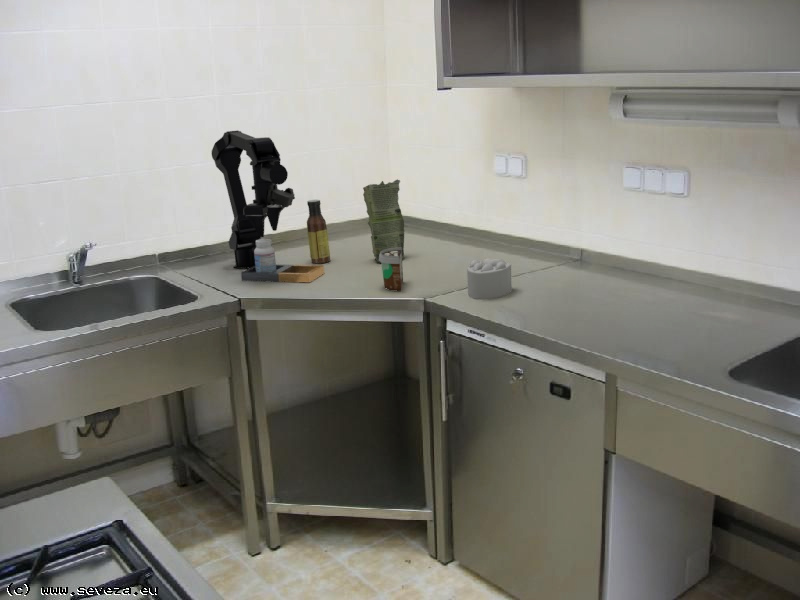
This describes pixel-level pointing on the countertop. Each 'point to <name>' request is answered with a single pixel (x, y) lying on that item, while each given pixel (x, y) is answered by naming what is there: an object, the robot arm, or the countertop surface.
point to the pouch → (384, 216)
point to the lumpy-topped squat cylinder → (489, 278)
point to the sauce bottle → (317, 234)
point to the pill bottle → (264, 256)
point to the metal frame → (285, 273)
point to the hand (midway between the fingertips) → (268, 233)
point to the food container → (392, 268)
